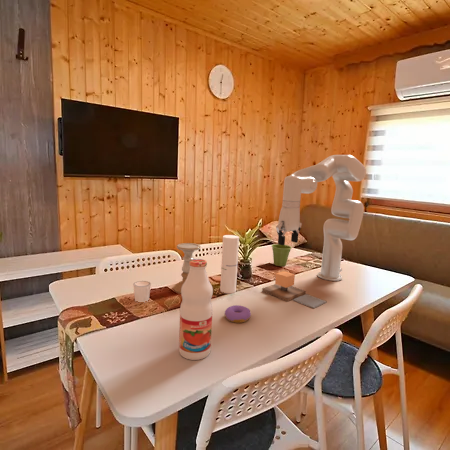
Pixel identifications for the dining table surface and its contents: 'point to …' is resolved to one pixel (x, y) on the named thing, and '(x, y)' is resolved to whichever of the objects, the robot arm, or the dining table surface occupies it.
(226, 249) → the cylindrical container
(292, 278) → the orange bevelled cube
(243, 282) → the dining table surface
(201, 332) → the fruit juice
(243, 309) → the donut
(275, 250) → the plant pot
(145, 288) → the shot glass
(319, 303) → the rubber pad
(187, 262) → the candle holder
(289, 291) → the post stand
